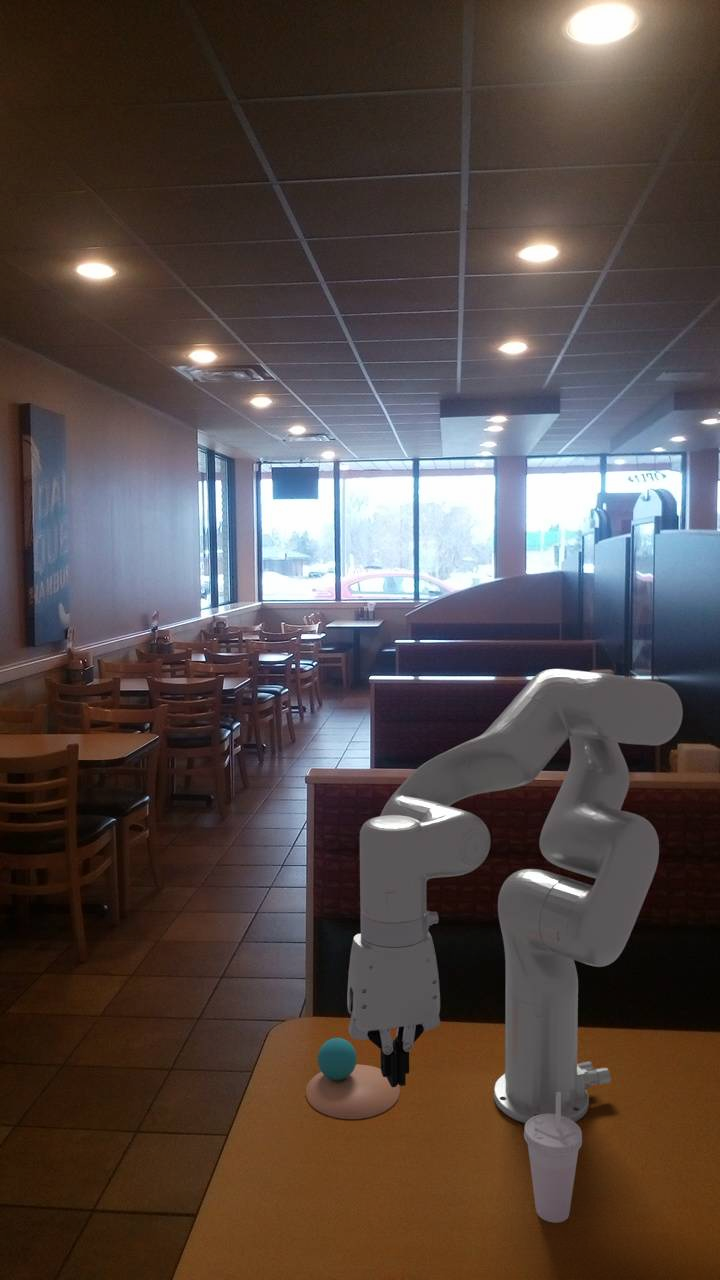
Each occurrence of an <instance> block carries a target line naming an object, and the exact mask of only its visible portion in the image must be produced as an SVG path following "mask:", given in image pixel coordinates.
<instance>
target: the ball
mask: <svg viewBox="0 0 720 1280" xmlns="http://www.w3.org/2000/svg"><path fill="white" fill-rule="evenodd" d="M357 1059H358V1057H357V1052H356V1049H355V1048H354V1046H353V1045H352V1043H351V1042H349V1041H348V1040H347V1039H344V1038H341V1037H334V1038H330V1039H328V1040H326V1041H325V1042H324V1043H323V1044H322V1045H321V1047H320V1049H319V1051H318V1054H317V1064H318V1068H319V1071H320V1072H322V1073H323V1074H324V1075H325V1076H326V1077H327V1078H329V1079H332V1080H342V1079H345V1078H347V1077H348V1076H349V1075H350V1074H351V1073H352V1072H353V1070H354V1068H355V1066H356V1064H357V1061H358V1060H357Z"/></svg>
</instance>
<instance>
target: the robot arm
mask: <svg viewBox="0 0 720 1280" xmlns="http://www.w3.org/2000/svg"><path fill="white" fill-rule="evenodd" d="M683 712H684V711H683V704H682V701H681V698H680V696H679V694H678V692H677V691H676V690H675V689H674V688H673V687H672V686H670V685H668V684H667V683H665V682H659V681H653V680H645V679H637V678H632V677H627V676H621V675H615V674H612V673H605V672H596V671H588V670H587V671H586V670H585V671H584V670H577V669H567V668H551V669H550V668H549V669H545V670H542V671H541V672H538V673H537V674H536V675H535V676H534V677H532V678H531V679H530V681H529V682H528V683H527V684H526V685H525V686H524V687H523V688H522V690H521V691H520V692H519V693H518V694H517V695H516V696H515V697H514V698H513V699H512V701H511V702H510V704H508V705H507V707H506V708H505V709H504V710H503V711H502V712H501V714H499V716H498V717H497V718H496V719H495V720H494V721H493V722H492V723H491V725H490V726H489V727H487V729H486V730H485V731H484V732H483V733H482V734H480V735H479V736H477V737H474V738H472V739H470V740H467V741H465V742H463V743H460V744H458V745H457V746H454V747H452V748H451V749H447V751H444V752H442V753H440V754H438V755H436V756H434V757H433V758H431V759H429V760H428V761H426V762H424V763H423V764H421V765H420V766H418V768H416V769H415V770H414V771H413V772H412V773H411V774H410V775H409V776H408V777H407V778H406V779H405V780H404V781H403V783H402V784H401V785H400V786H399V787H398V788H397V789H396V791H395V792H393V793H392V795H391V796H390V798H389V799H388V801H387V802H386V804H385V805H384V807H383V809H382V811H381V813H380V815H379V816H376V817H372V818H370V819H368V820H367V821H365V822H364V823H363V824H362V826H361V828H360V831H359V889H360V890H359V893H360V894H359V896H360V897H359V899H360V900H359V901H360V903H359V906H360V907H359V908H360V913H359V914H360V933H357V934H355V935H354V936H353V939H352V944H351V948H350V956H349V957H350V958H349V965H348V966H349V967H348V978H347V979H348V981H347V994H346V995H347V997H346V998H347V999H346V1001H347V1003H346V1004H347V1011H348V1013H349V1015H350V1020H349V1023H348V1027H347V1028H348V1029H347V1030H348V1033H349V1035H350V1037H351V1038H352V1039H354V1040H355V1039H356V1040H361V1041H362V1040H364V1041H366V1040H369V1041H370V1042H372V1043H373V1044H374V1045H375V1046H377V1048H379V1050H380V1069H381V1073H382V1075H383V1077H387V1079H388V1081H389V1083H390V1085H391V1087H396V1086H397V1085H398V1084H399V1087H403V1086H406V1083H407V1082H406V1079H407V1078H406V1075H407V1074H409V1073H410V1051H412V1049H413V1048H414V1044H415V1042H416V1041H417V1040H418V1038H420V1037H421V1035H422V1034H423V1033H424V1032H427V1031H431V1030H432V1029H435V1028H437V1027H439V1026H440V1025H441V1019H440V1012H441V994H440V993H441V992H440V979H439V977H440V976H439V970H438V969H439V968H438V962H437V955H436V951H435V945H434V942H433V941H434V940H433V937H432V935H431V933H430V931H429V928H430V926H433V924H438V923H439V914H438V912H437V911H430V910H427V881H429V880H430V879H435V878H436V879H437V878H448V877H449V878H450V877H458V876H462V875H466V874H469V873H471V872H473V871H475V870H476V869H478V868H479V866H481V865H482V864H483V862H484V861H485V860H486V859H487V857H488V854H489V851H490V848H491V834H490V831H489V829H488V826H487V824H485V822H484V821H483V820H482V819H481V818H480V817H479V816H477V815H475V814H474V813H472V812H469V811H466V810H463V809H461V808H457V807H453V806H452V805H453V804H454V803H457V802H459V801H461V800H463V799H466V798H468V797H472V796H476V795H479V794H484V793H491V792H498V791H499V792H500V791H505V790H509V789H513V788H518V787H522V786H525V785H527V784H530V783H532V782H533V781H534V780H536V778H537V777H538V776H539V775H540V773H541V772H542V771H543V770H544V768H545V767H546V766H547V764H549V763H550V761H551V759H552V758H554V756H555V754H557V752H558V751H559V749H560V748H562V746H563V745H564V744H565V742H566V741H567V740H568V739H569V745H570V761H569V766H568V770H567V771H566V774H565V777H564V780H563V782H562V784H561V787H560V789H559V791H558V793H557V794H556V798H555V800H554V802H553V804H552V806H551V808H550V810H549V812H548V815H547V817H546V819H545V821H544V824H543V826H542V829H541V831H540V837H539V843H538V844H539V845H538V846H539V849H540V853H541V854H542V856H543V857H544V858H545V859H546V860H547V862H549V863H550V864H552V865H555V866H556V867H559V868H561V869H564V870H567V871H570V872H573V873H577V874H580V875H583V876H586V877H588V878H589V877H590V878H593V879H595V882H593V883H594V884H593V885H591V884H589V883H586V882H583V881H579V880H575V879H573V878H570V877H568V876H564V875H561V874H556V873H554V872H551V871H548V870H543V869H538V868H525V869H520V870H517V871H515V872H513V873H511V875H509V876H508V877H507V878H506V879H505V880H504V882H503V884H502V886H501V888H500V891H499V893H498V899H497V914H498V921H499V925H500V931H501V934H502V935H501V936H502V940H503V941H502V942H503V947H504V948H503V949H504V961H505V1035H504V1036H505V1047H504V1048H505V1053H504V1054H505V1063H504V1065H505V1072H504V1074H502V1075H501V1076H500V1077H499V1078H498V1079H497V1080H496V1082H495V1084H494V1087H493V1099H494V1102H495V1104H496V1106H497V1108H498V1109H500V1111H502V1113H504V1114H505V1115H506V1116H508V1117H509V1118H511V1119H512V1120H515V1121H517V1122H520V1123H522V1124H524V1125H525V1124H526V1122H527V1121H528V1120H529V1119H530V1118H532V1117H534V1116H536V1115H540V1114H556V1092H560V1093H561V1116H564V1117H567V1118H569V1119H571V1120H572V1121H574V1122H575V1123H576V1122H577V1121H579V1120H580V1119H582V1118H583V1117H584V1116H585V1115H586V1114H587V1112H588V1110H589V1102H590V1101H589V1100H590V1099H589V1094H588V1091H587V1089H590V1088H591V1085H592V1086H593V1085H602V1084H609V1083H611V1079H612V1076H611V1072H610V1070H609V1069H608V1067H600V1068H599V1067H598V1068H594V1066H593V1063H592V1061H583V1062H580V1063H578V1028H579V1027H578V1025H579V1023H578V1021H579V1020H578V1019H579V1018H578V1016H579V1015H578V1013H579V1012H578V1011H579V1010H578V1008H579V1005H578V1004H579V1003H578V1001H579V997H578V995H579V977H578V972H577V966H576V964H575V961H576V962H579V963H582V964H585V965H588V966H592V967H597V968H601V967H606V966H609V965H611V964H612V963H614V962H615V961H616V960H617V959H618V958H619V957H620V955H621V954H622V952H624V951H623V950H624V949H625V947H626V945H627V942H628V941H629V938H630V937H631V933H632V931H633V929H634V926H635V925H636V922H637V919H638V917H639V915H640V911H641V909H642V907H643V905H644V901H645V899H646V897H647V894H648V891H649V889H650V886H651V884H652V882H653V879H654V877H655V873H656V871H657V868H658V867H657V866H658V864H659V855H660V843H659V842H660V840H659V837H658V834H657V831H656V829H655V827H654V826H653V824H652V823H651V822H650V821H649V820H648V819H646V818H645V817H644V816H641V815H639V814H636V813H632V812H629V811H625V810H621V809H622V807H623V804H624V801H625V799H626V796H627V794H628V792H629V787H630V772H629V768H628V764H627V762H626V759H625V756H624V754H623V753H622V751H621V748H620V745H619V744H626V745H643V746H661V745H663V744H666V743H668V742H669V741H671V740H672V739H673V738H674V737H675V736H676V735H677V733H678V731H679V729H680V727H681V724H682V721H683V715H684V714H683ZM391 1029H396V1034H395V1036H396V1037H395V1038H394V1039H392V1038H393V1037H392V1034H391V1033H392V1032H391Z"/></svg>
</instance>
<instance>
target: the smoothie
mask: <svg viewBox="0 0 720 1280" xmlns="http://www.w3.org/2000/svg"><path fill="white" fill-rule="evenodd" d="M523 1137H524V1140H525V1142H526V1143H527V1148H528V1156H529V1165H530V1172H531V1173H530V1174H531V1180H532V1190H533V1196H534V1197H533V1198H534V1205H535V1213H536V1214H537V1215H538V1217H540V1219H542V1220H544V1221H546V1222H549V1223H553V1224H556V1223H557V1224H558V1223H562V1222H566V1220H568V1218H569V1217H570V1211H571V1204H572V1197H573V1191H574V1182H575V1177H576V1170H577V1169H576V1168H577V1162H578V1155H579V1150H580V1148H581V1147H582V1145H583V1144H582V1143H583V1133H582V1129H581V1127H580V1125H578V1123H576V1122H574V1121H572V1120H571V1119H569V1118H567V1117H564V1116H561V1093H560V1092H556V1114H540V1115H536V1116H534V1117H532V1118H530V1119H529V1120H528V1121H527V1122H526V1124H525V1123H524V1132H523Z"/></svg>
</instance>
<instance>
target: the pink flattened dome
mask: <svg viewBox="0 0 720 1280" xmlns="http://www.w3.org/2000/svg"><path fill="white" fill-rule="evenodd" d="M400 1088H401V1086H400V1085H399V1084H398V1085H397V1086H396V1087H391V1085H390V1083H389V1081H388V1079H387V1077H383V1075H382V1073H381V1068H379V1067H376V1066H372V1065H367V1064H357V1063H356V1066H355V1068H354V1070H353V1072H352V1073H351V1074H350V1075H349V1076H348V1077H347V1078H345V1079H342V1080H332V1079H329V1078H327V1077H326V1076H325V1075H324V1074H323V1073H322V1072H321V1071H320V1072H319V1073H317V1074H315V1075H314V1076H313V1077H312V1078H311V1079H310V1080H309V1082H308V1083H307V1086H306V1088H305V1096H306V1097H305V1098H306V1100H307V1102H308V1103H309V1105H310V1106H311V1107H312V1108H313V1109H314V1110H316V1111H318V1112H319V1113H321V1114H323V1115H325V1116H327V1117H331V1118H337V1119H341V1120H361V1119H367V1118H368V1119H369V1118H372V1117H376V1116H378V1115H381V1114H383V1113H384V1112H386V1111H388V1110H390V1109H391V1108H392V1107H394V1105H396V1103H397V1102H398V1100H399V1099H400V1094H401V1089H400Z"/></svg>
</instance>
